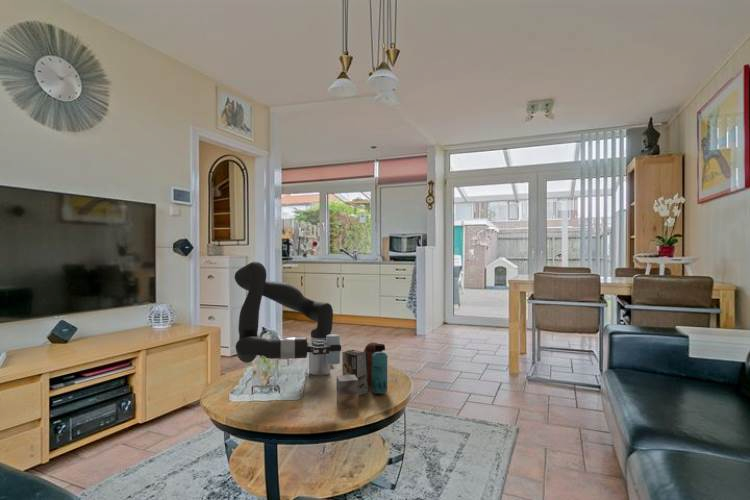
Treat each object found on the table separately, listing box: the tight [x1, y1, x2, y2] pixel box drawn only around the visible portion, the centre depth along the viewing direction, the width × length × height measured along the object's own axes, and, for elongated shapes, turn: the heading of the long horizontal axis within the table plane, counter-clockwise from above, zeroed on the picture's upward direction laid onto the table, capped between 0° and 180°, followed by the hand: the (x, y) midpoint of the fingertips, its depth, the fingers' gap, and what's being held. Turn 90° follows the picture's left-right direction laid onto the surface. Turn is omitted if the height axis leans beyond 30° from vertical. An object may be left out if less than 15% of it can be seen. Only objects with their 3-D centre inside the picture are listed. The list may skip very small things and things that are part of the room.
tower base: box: [336, 390, 359, 409], centre depth 154 cm, size 7×7×5 cm
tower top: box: [336, 374, 358, 395], centre depth 154 cm, size 7×7×5 cm
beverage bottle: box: [370, 343, 389, 394], centre depth 165 cm, size 6×7×20 cm
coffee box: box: [341, 349, 369, 397], centre depth 168 cm, size 9×6×16 cm
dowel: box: [326, 333, 341, 365], centre depth 153 cm, size 5×5×10 cm
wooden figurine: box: [362, 342, 383, 387], centre depth 178 cm, size 12×6×18 cm, turn 41°
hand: (340, 346), depth 154 cm, fingers closed on dowel, 5 cm apart
